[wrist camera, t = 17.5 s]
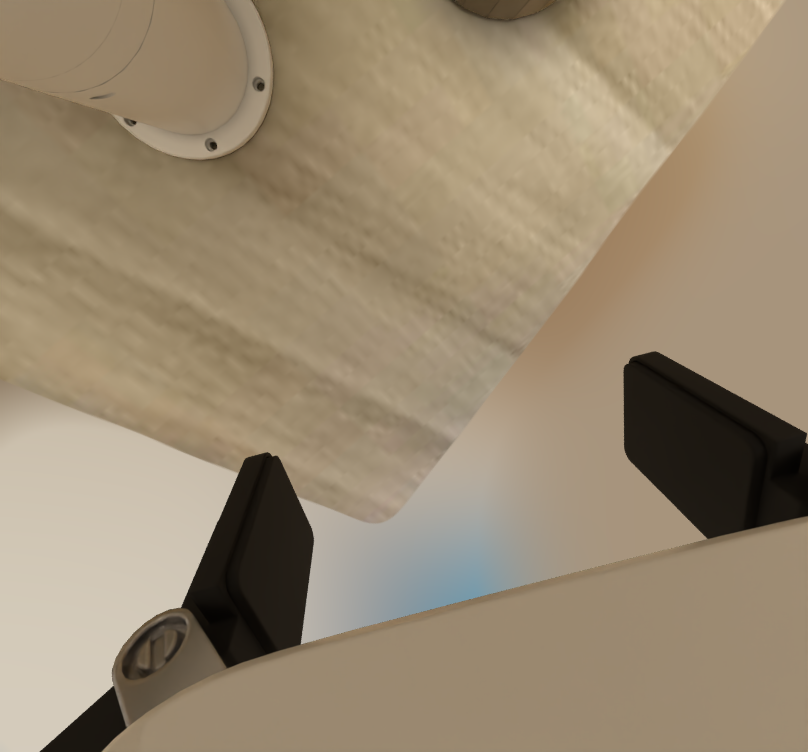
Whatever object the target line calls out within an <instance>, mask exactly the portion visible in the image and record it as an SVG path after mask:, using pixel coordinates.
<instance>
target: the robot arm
mask: <svg viewBox="0 0 808 752" xmlns="http://www.w3.org/2000/svg"><path fill="white" fill-rule="evenodd" d="M0 79H1V80H4V81H8V82H11V83H14V84H18V85H20V86H23V87H25V88H29V89H32V90H35V91H39V92H42V93H45V94H48V95H52V96H55V97H58V98H62V99H65V100H68V101H71V102H75V103H78V104H81V105H84V106H88V107H91V108H94V109H98V110H101V111H104V112H107V113H111V114H112V116H113V117H114V118H115V119H116V120H117V121H118V122H119V123H120V125H122V126H123V127H124V128H125V129H126V130H127V131H129V132H130V133H131V134H132V135H133V136H135V137H136V138H137V139H139V140H140V141H142V142H144V143H145V144H147V145H149V146H150V147H152V148H154V149H156V150H159V151H161V152H164V153H166V154H169V155H171V156H176V157H180V158H186V159H195V160H205V159H215V158H218V157H221V156H224V155H227V154H230V153H232V152H234V151H235V150H237V149H238V148H240V147H242V146H243V145H244V144H245V143H246V142H247V141H248V140H249V139H250V138H251V137H253V136H254V135H255V133H256V131H257V130H258V128H259V127H260V125H261V124H262V122H263V121H264V118H265V115H266V113H267V110H268V108H269V105H270V101H271V95H272V90H273V60H272V54H271V47H270V43H269V40H268V37H267V33H266V30H265V27H264V24H263V22H262V20H261V18H260V16H259V14H258V11H257V9H256V7H255V5H254V3H253V2H252V0H0ZM260 83H263V84H264V89H263V90H262V91H260V90H259V89H258V85H259V84H260ZM133 120H134V121H137V122H136V125H135V124H134V123H133ZM213 142H215V143H216V144H217V148H216V149H215V150H214V149H213V148H212V143H213ZM806 436H807V433H805V432H803V431H802V430H800V429H798V428H796V427H794V426H792V425H791V424H789V423H787V422H785V421H783V420H781V419H780V418H778V417H776V416H774V415H772V414H770V413H769V412H767V411H765V410H763V409H761V408H759V407H758V406H756V405H754V404H752V403H750V402H748V401H747V400H744V399H743V398H741V397H739V396H737V395H736V394H733V393H731V392H730V391H728V390H726V389H725V388H723V387H721V386H719V385H717V384H715V383H714V382H712V381H710V380H708V379H706V378H704V377H703V376H701V375H699V374H697V373H695V372H693V371H692V370H690V369H688V368H686V367H684V366H682V365H681V364H679V363H677V362H675V361H673V360H671V359H670V358H668V357H666V356H664V355H662V354H660V353H658V352H650V353H646V354H642V355H638V356H634V357H632V358H631V359H630V361H629V364H626V365H625V367H624V449H625V453H626V455H627V457H628V459H629V460H630V461H631V462H632V463H633V464H634V465H635V466H636V467H637V468H638V469H639V470H640V471H641V472H642V473H643V474H644V475H645V476H646V477H647V478H648V479H649V480H650V481H651V482H652V483H653V484H654V485H655V486H656V487H657V488H658V489H659V490H660V491H661V492H662V493H663V494H664V495H665V496H666V497H667V498H668V499H669V500H670V501H671V502H672V503H673V504H674V505H675V506H676V507H677V509H679V510H680V511H681V513H682V514H683V515H684V516H685V517H686V518H687V519H688V520H690V521H691V523H692V524H693V525H694V526H695V527H696V528H697V529H698V530H699V531H700V532H701V533H702V534H703V535H704V536H706V538H707V540H703V541H699V542H695V543H691V544H687V545H683V546H679V547H675V548H671V549H667V550H663V551H659V552H654V553H651V554H647V555H643V556H638V557H635V558H630V559H627V560H623V561H619V562H615V563H611V564H606V565H603V566H599V567H595V568H591V569H587V570H583V571H579V572H575V573H571V574H567V575H564V576H559V577H555V578H551V579H548V580H544V581H540V582H536V583H532V584H528V585H524V586H520V587H516V588H512V589H509V590H505V591H501V592H497V593H493V594H489V595H485V596H481V597H478V598H474V599H470V600H466V601H462V602H458V603H454V604H450V605H447V606H443V607H439V608H435V609H431V610H428V611H424V612H420V613H416V614H412V615H409V616H405V617H401V618H397V619H393V620H389V621H386V622H382V623H378V624H374V625H370V626H367V627H363V628H359V629H355V630H352V631H348V632H344V633H341V634H337V635H334V636H330V637H326V638H323V639H319V640H316V641H313V642H309V643H305V644H301V636H302V630H303V621H304V614H305V606H306V598H307V591H308V583H309V575H310V568H311V560H312V552H313V545H314V537H313V532H312V528H311V526H310V524H309V522H308V520H307V517H306V515H305V513H304V511H303V509H302V506H301V504H300V502H299V500H298V498H297V495H296V493H295V491H294V489H293V487H292V485H291V482H290V480H289V478H288V476H287V474H286V471H285V469H284V467H283V465H282V463H281V460H280V459H279V457H278V456H273V457H272V455H271V454H270V453H268V452H267V453H263V454H259V455H255V456H251V457H248V458H246V459H245V460H244V462H243V465H242V467H241V469H240V472H239V474H238V477H237V479H236V481H235V484H234V486H233V488H232V491H231V493H230V495H229V498H228V500H227V502H226V505H225V507H224V510H223V512H222V514H221V517H220V519H219V521H218V522H217V525H216V527H215V529H214V532H213V534H212V536H211V539H210V541H209V543H208V546H207V548H206V551H205V553H204V555H203V557H202V560H201V562H200V564H199V567H198V569H197V571H196V574H195V576H194V578H193V581H192V583H191V586H190V588H189V590H188V593H187V595H186V597H185V600H184V602H183V604H182V607H181V608H176V609H170V610H168V611H165V612H163V613H160V614H158V615H156V616H155V617H153V618H152V619H150V620H149V621H147V622H146V623H144V624H143V625H142V626H141V627H140V628H139V629H138V630H137V631H135V632H134V633H133V634H132V636H131V637H130V638H129V639H128V640H127V642H126V643H125V644H124V645H123V647H122V649H121V650H120V652H119V654H118V656H117V657H116V659H115V662H114V666H113V668H112V681H113V685H114V686H113V687H112V688H111V689H110V690H108V691H107V692H106V693H105V694H104V695H103V696H102V697H101V698H100V699H98V700H97V701H96V702H95V703H94V704H93V705H92V706H90V707H89V708H88V709H87V710H86V711H85V712H84V713H83V714H82V715H80V716H79V717H78V718H77V719H76V720H75V721H74V722H73V723H71V724H70V725H69V726H68V727H67V728H66V729H65V730H64V731H63V732H61V733H60V734H59V735H58V736H57V737H56V738H55V739H54V740H52V741H51V742H50V743H49V744H48V745H47V746H46V747H45V748H43V749H42V750H41V751H40V752H808V444H807V443H805V441H806Z"/></svg>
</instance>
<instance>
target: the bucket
mask: <svg viewBox="0 0 808 752" xmlns="http://www.w3.org/2000/svg"><path fill="white" fill-rule="evenodd" d="M454 1H455V2H456V3H458V4H459V5H460V6H462V7H463V8H465V9H467V10H469V11H472V12H474V13H476V14H479V15H481V16H483V17H487V18H495V19H509V20H511V19H516V18H520V17H524V16H527V15H531V14H535V13H537V12H540V11H541V10H543V9H544V8H546V7H547V6H549V5H551V4H552V3H554V2H555V1H557V0H454Z"/></svg>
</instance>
